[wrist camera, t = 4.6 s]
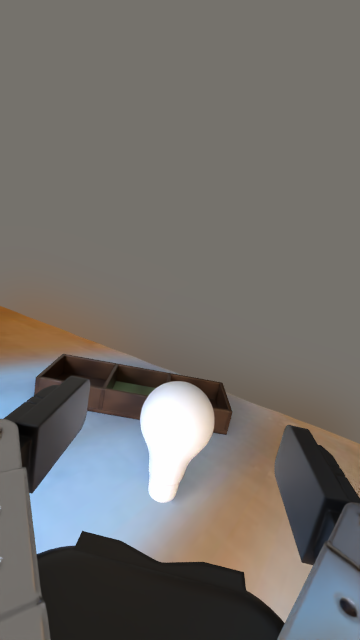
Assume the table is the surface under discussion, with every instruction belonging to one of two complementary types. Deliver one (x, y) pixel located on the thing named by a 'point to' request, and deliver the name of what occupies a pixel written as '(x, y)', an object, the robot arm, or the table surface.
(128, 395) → the compartment tray
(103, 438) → the table surface
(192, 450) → the lightbulb
